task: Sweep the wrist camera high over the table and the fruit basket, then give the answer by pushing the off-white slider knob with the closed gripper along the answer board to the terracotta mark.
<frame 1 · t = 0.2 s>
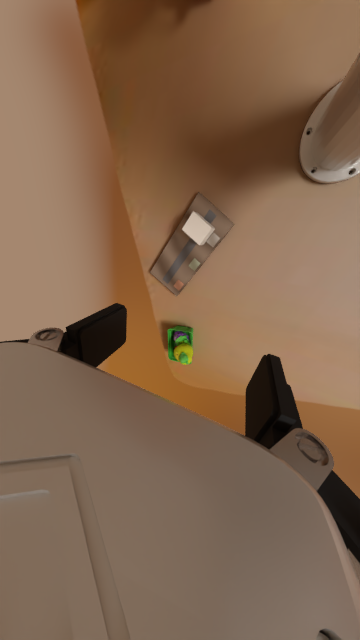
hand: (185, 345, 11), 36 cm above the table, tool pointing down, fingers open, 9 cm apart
fruit basket: (187, 338, 55), on the table
answer board: (188, 251, 43), on the table
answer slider: (198, 229, 37), point 4 cm above the table, slide at 0.0 cm
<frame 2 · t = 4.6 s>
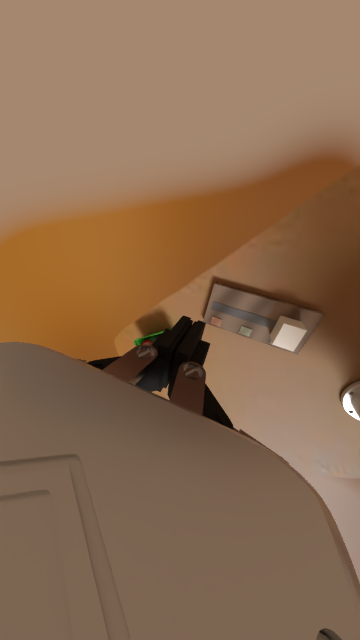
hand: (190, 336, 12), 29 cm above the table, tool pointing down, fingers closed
fruit basket: (163, 340, 51), on the table
answer board: (255, 316, 39), on the table
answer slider: (286, 333, 34), point 4 cm above the table, slide at 0.0 cm
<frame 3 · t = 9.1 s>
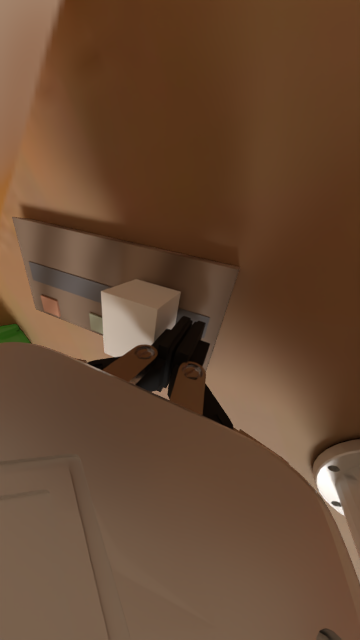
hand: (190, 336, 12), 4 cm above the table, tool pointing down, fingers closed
fruit basket: (20, 345, 30), on the table
answer board: (117, 291, 18), on the table
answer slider: (142, 322, 13), point 4 cm above the table, slide at 0.7 cm, touching gripper
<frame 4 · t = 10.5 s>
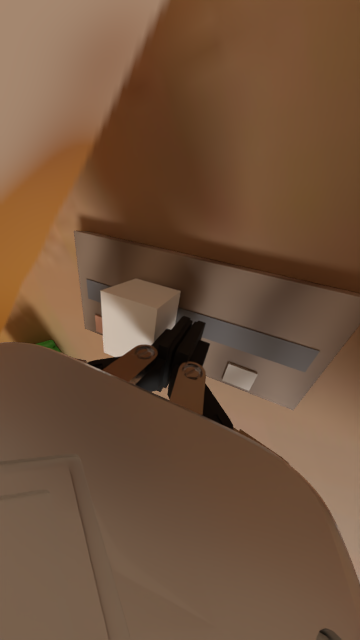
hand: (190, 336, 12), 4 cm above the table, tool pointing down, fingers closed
answer board: (187, 313, 16), on the table
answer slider: (142, 321, 13), point 4 cm above the table, slide at 8.5 cm, touching gripper
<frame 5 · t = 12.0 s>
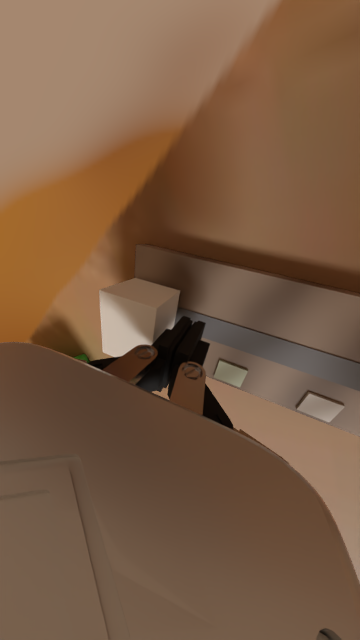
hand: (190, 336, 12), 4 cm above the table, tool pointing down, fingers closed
answer board: (256, 334, 14), on the table
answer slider: (141, 321, 13), point 4 cm above the table, slide at 14.7 cm, touching gripper
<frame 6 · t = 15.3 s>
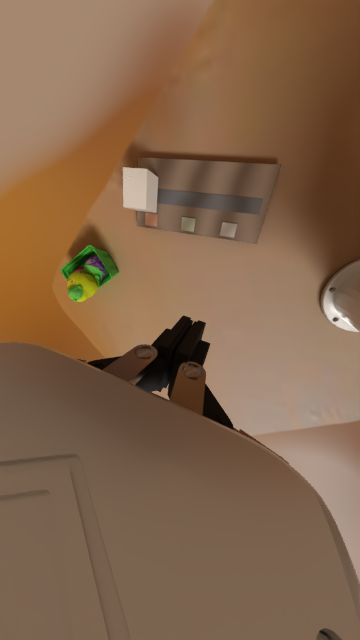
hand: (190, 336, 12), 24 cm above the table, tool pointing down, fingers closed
fruit basket: (103, 272, 41), on the table
answer board: (199, 202, 29), on the table
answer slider: (141, 192, 28), point 4 cm above the table, slide at 15.0 cm
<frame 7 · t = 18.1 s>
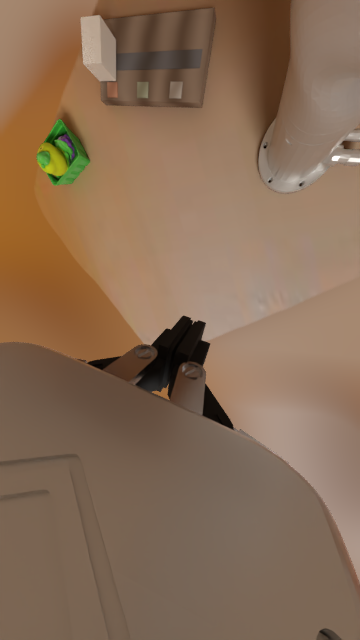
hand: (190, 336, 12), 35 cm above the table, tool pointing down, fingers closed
fruit basket: (77, 165, 45), on the table
answer board: (153, 68, 33), on the table
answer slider: (99, 51, 31), point 4 cm above the table, slide at 15.0 cm
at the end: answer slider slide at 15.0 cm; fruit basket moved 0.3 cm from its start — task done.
